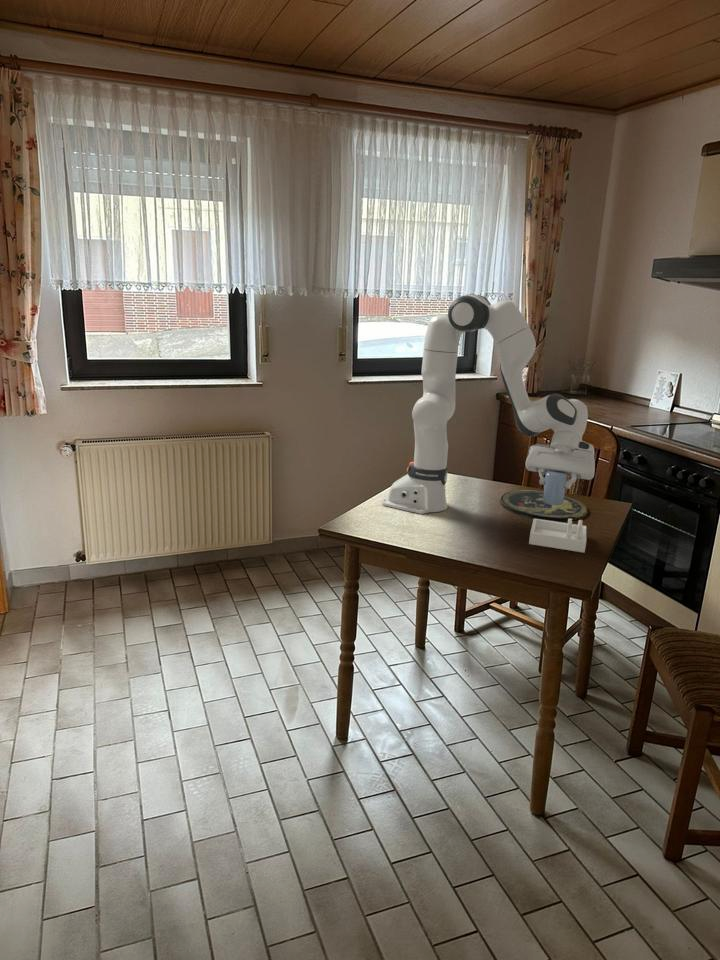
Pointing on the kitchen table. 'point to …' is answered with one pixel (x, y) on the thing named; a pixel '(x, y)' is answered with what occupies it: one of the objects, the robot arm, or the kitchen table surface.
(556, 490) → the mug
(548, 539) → the white pegged tray
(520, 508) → the decorative plate
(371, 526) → the kitchen table surface
